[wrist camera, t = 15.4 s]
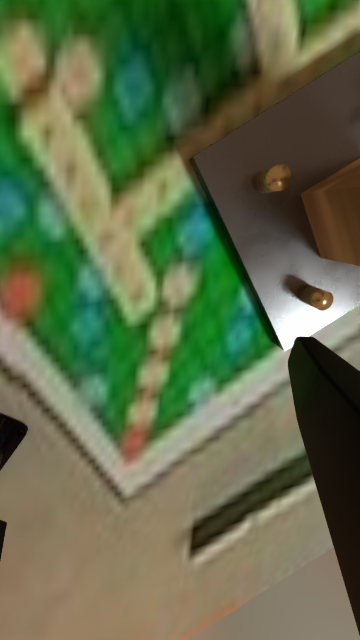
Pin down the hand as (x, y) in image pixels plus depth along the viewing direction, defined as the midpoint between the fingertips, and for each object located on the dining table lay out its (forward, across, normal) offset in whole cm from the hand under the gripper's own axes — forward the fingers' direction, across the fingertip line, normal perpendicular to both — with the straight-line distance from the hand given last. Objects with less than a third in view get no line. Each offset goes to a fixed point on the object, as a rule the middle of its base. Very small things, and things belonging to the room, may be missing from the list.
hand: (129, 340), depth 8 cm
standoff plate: (+17, -12, 0) cm, 20 cm away
